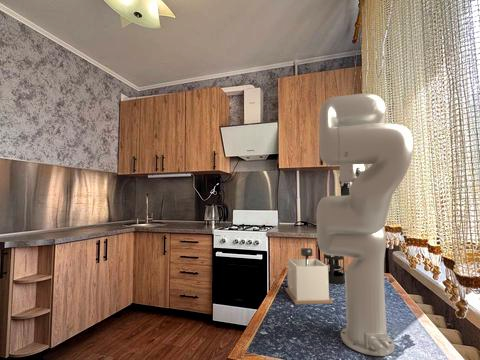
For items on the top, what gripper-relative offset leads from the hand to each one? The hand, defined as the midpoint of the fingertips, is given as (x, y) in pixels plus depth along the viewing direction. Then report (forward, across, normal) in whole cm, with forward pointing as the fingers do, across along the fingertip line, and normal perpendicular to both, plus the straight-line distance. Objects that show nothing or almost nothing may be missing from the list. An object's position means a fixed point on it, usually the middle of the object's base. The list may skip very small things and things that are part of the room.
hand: (351, 198), depth 90 cm
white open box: (+38, +12, +13) cm, 42 cm away
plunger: (+35, +12, +13) cm, 39 cm away
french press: (+38, +30, -6) cm, 49 cm away
